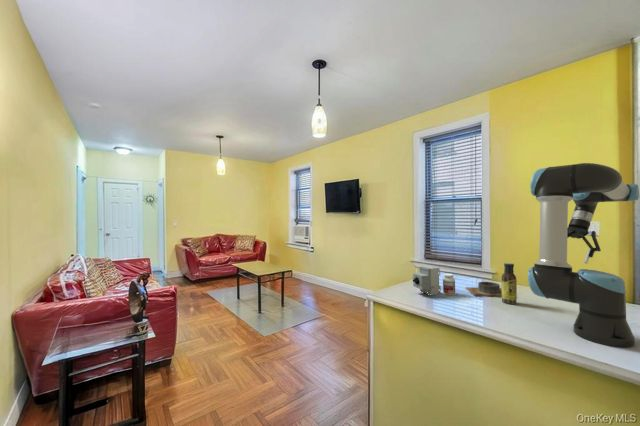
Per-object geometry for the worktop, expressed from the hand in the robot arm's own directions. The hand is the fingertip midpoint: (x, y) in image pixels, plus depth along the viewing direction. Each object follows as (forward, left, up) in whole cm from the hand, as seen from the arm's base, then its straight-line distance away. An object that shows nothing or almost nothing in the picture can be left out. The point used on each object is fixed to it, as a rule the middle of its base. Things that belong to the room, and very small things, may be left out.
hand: (567, 258), depth 134 cm
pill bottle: (-34, +42, -22) cm, 58 cm away
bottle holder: (-15, +30, -22) cm, 40 cm away
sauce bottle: (-24, +16, -22) cm, 36 cm away
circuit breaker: (-44, +50, -22) cm, 70 cm away
